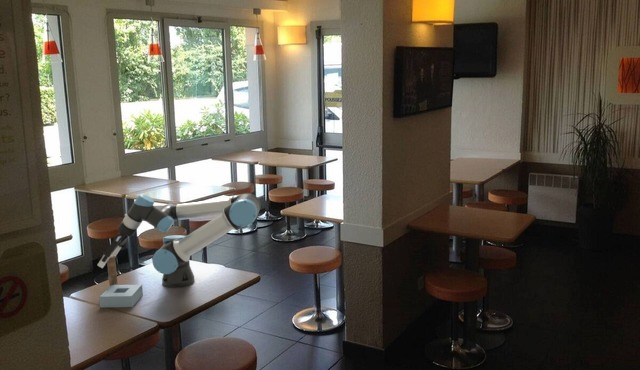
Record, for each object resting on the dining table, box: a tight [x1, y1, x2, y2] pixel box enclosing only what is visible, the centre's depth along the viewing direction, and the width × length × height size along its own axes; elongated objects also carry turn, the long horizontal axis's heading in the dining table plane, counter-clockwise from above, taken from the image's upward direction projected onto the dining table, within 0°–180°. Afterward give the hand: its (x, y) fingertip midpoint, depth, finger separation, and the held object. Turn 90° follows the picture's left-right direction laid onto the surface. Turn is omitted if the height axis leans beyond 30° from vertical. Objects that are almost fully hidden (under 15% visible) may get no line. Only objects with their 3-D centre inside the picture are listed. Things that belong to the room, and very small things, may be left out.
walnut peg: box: [106, 256, 119, 288], centre depth 266 cm, size 4×4×17 cm
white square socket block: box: [98, 284, 144, 308], centre depth 255 cm, size 14×14×5 cm
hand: (105, 261), depth 263 cm, fingers open, 13 cm apart
